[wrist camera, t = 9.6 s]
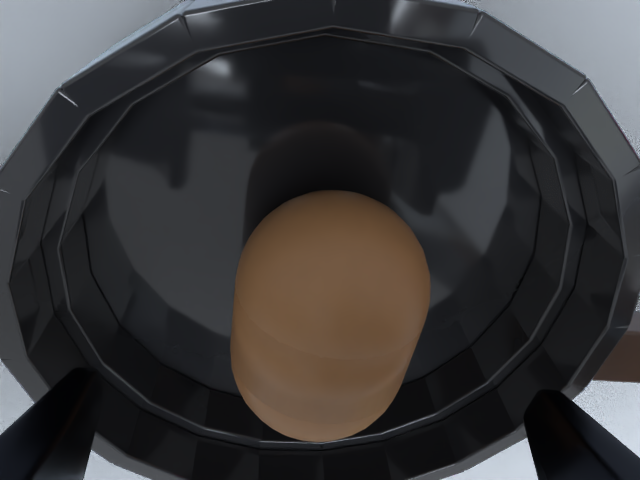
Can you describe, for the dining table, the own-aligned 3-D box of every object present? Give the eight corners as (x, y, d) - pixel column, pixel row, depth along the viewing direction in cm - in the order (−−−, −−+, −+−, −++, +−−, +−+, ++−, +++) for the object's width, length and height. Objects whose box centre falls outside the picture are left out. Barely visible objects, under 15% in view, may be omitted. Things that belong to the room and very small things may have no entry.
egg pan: (84, 400, 16) (42, 503, 13) (-3, -93, 9) (-143, -102, 6) (467, 415, 18) (502, 507, 16) (671, 28, 11) (816, 67, 8)
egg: (232, 340, 15) (216, 478, 11) (248, 147, 11) (233, 256, 7) (370, 348, 15) (399, 482, 12) (425, 168, 12) (491, 278, 8)
